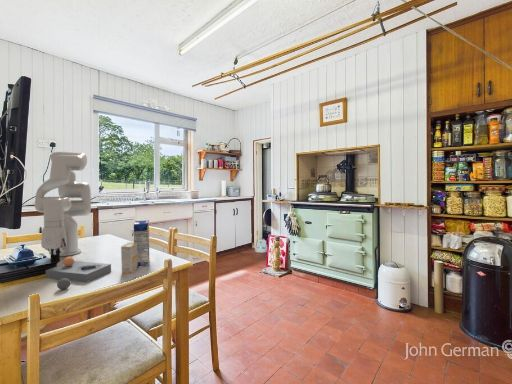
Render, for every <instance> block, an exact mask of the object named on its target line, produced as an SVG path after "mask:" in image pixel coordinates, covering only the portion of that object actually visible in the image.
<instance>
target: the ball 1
mask: <svg viewBox="0 0 512 384" xmlns="http://www.w3.org/2000/svg"><path fill="white" fill-rule="evenodd" d="M74 261H75V259H74V257H72V256H65V258H63V260H62V265H63V264H64V265H65V266H71V265H73V263H74Z"/></svg>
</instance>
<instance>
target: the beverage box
mask: <svg viewBox="0 0 512 384" xmlns="http://www.w3.org/2000/svg"><path fill="white" fill-rule="evenodd" d="M133 242H137V263H138V267H137V268H140V267H139V266H143V267H149V266H150V220H135V221H134V223H133Z"/></svg>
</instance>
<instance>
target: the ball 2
mask: <svg viewBox="0 0 512 384" xmlns="http://www.w3.org/2000/svg"><path fill="white" fill-rule="evenodd" d="M71 283H72V281H70V280H69V279H67V278H63V279H58V282H57V284H56V288H58V289H59V290H66V289H67V290H68V288H70V286H71Z"/></svg>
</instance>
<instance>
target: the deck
mask: <svg viewBox="0 0 512 384" xmlns="http://www.w3.org/2000/svg"><path fill="white" fill-rule="evenodd" d="M110 272H112V264H111V263H104V262H102V263H101V262H89V261H79V260H74V263H73V265H71V266H65V265H64V264H63V263H62V264H61V265H57V266H54V267H51V268H48V269H45V279H52V280H53V279H54V280H61V279H63V278H67V279H69V280H70V282H82V283H88V282H89V283H90V282H91V281H93V280H95V279H98V278H100V277H102V276H104V275H106V274H108V273H110Z"/></svg>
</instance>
